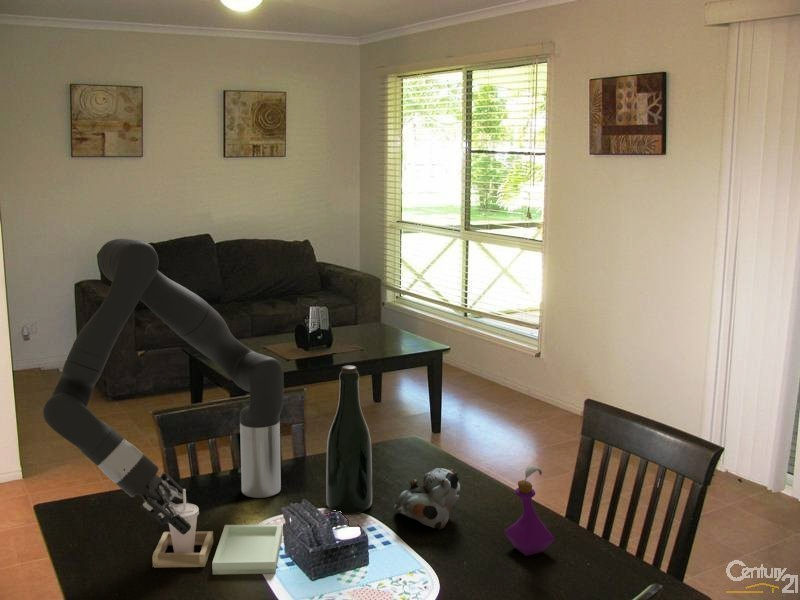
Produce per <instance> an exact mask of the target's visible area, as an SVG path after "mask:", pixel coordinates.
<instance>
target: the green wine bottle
mask: <svg viewBox="0 0 800 600" xmlns="http://www.w3.org/2000/svg"><path fill="white" fill-rule="evenodd" d="M338 377H339V378H338V379H339V393H338V394H339V396H338V404H337V405H338V406H337V409H336V413H335V416H334V418H333V421H332V423H331V426H330V428H329V432H328V436H327V443H326V446H327V447H326V473H325V474H326V475H325V476H326V482H325V483H326V485H325V486H326V490H325V491H326V492H325V493H326V494H325V495H326V499H325V500H326V506H327V508H328V509H330V510H331V511H332V510H336V511H341V512H342V513H343V515H354V514H359V513H360V514H361V513H363V512H365V511H367V510H368V509H370V507H371V506H372V503H373V469H372V468H373V465H372V464H373V462H372V461H373V460H372V457H373V456H372V439H371V436H370V429H369V427H368V425H367V422H366V419H365V417H364V414H363V412H362V408H361V401H360V391H359V389H360V388H359V387H360V385H359V383H360V382H359V381H360V374H359V371H358V369H357V366H355V365H350V364H348V365H344V366H342V367H341V371H340V373H339V376H338Z"/></svg>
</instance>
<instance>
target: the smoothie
mask: <svg viewBox="0 0 800 600" xmlns="http://www.w3.org/2000/svg"><path fill="white" fill-rule="evenodd" d="M182 489H183V503H182V504H176V505H172V507H173V509H174V510H175V511H176V513H177V515H178V514H179V515H180V516H181V517H182V518H183V519H184V520H185V521H187V522H188V523H189V524H190V525H191V528H190V530H189V531H188V532H187V533H186V534H181V533H180V532H179V531H178V530H177V529H176V528H175V527H173V526H172V525H171V524H170V523H169V524H168V527H169V532H170V533H171V538H172V544H173V545H172V549H173V553H195V545H194V544H195V534H196V530H197V522H198V515H200V511H199V510H200V509H199V508H200V507H198V505H196V504H193V503H190V502H189V503H186V500H187V493H186V491H187V490H186V488H182ZM167 511H168V509H167ZM168 512H169V511H168Z"/></svg>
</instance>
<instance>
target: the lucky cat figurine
mask: <svg viewBox="0 0 800 600" xmlns="http://www.w3.org/2000/svg"><path fill="white" fill-rule="evenodd" d="M458 474H459V471H458V472H457V471H454V470H453V468H451V469H446V468H443V467H442V468H438V467H435V468H434V469H432V470H431V471H429V472H426V474H425V475H424V476H423V478H422V483H421V484H420V485H419V483H418V480H417V479H415V478H412V480H410V482H409V483H410V484H409V485H410V487H409V488H408V489H407V490H403V491H402V492H401V493H400V494H399V496H398V498H397V501H396V504H394V507H393V508H394V509H395V510H396V512H397V513H400V514H401V515H403V516H406V517H408V518H410V519H413V520H416V521H418V522H419V523H421V524H423V525H424V526H427V527H431V528H433V529H437V530H442V529H444V528H445V527H446V526H447V523H448V522H449V519H450V511H451V509H452V507H454V504H455V503H456V502H457V500H459V499H460V494H459V493H460V491H461V484H460V482H459V476H458Z"/></svg>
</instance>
